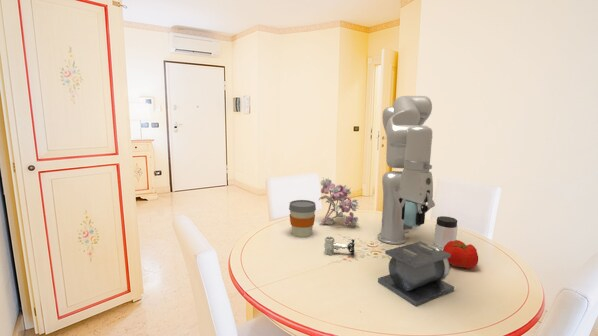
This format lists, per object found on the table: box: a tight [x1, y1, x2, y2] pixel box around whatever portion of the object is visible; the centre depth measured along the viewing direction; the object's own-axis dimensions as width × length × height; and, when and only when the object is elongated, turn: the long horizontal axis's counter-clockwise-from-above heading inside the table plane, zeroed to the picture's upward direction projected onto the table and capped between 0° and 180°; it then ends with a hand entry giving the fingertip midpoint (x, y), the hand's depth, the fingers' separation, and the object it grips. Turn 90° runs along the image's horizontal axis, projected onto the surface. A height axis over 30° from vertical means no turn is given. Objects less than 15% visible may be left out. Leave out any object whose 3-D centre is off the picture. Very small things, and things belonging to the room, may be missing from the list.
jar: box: [433, 215, 458, 249], centre depth 142 cm, size 9×8×12 cm
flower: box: [318, 178, 359, 227], centre depth 165 cm, size 20×22×25 cm
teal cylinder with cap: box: [404, 200, 422, 228], centre depth 104 cm, size 5×5×9 cm
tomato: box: [442, 239, 479, 269], centre depth 123 cm, size 13×12×8 cm
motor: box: [377, 240, 455, 307], centre depth 106 cm, size 18×16×13 cm
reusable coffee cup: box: [288, 199, 317, 238], centre depth 152 cm, size 13×13×15 cm
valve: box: [323, 236, 355, 256], centre depth 131 cm, size 7×7×12 cm
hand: (412, 221), depth 104 cm, fingers closed on teal cylinder with cap, 5 cm apart
